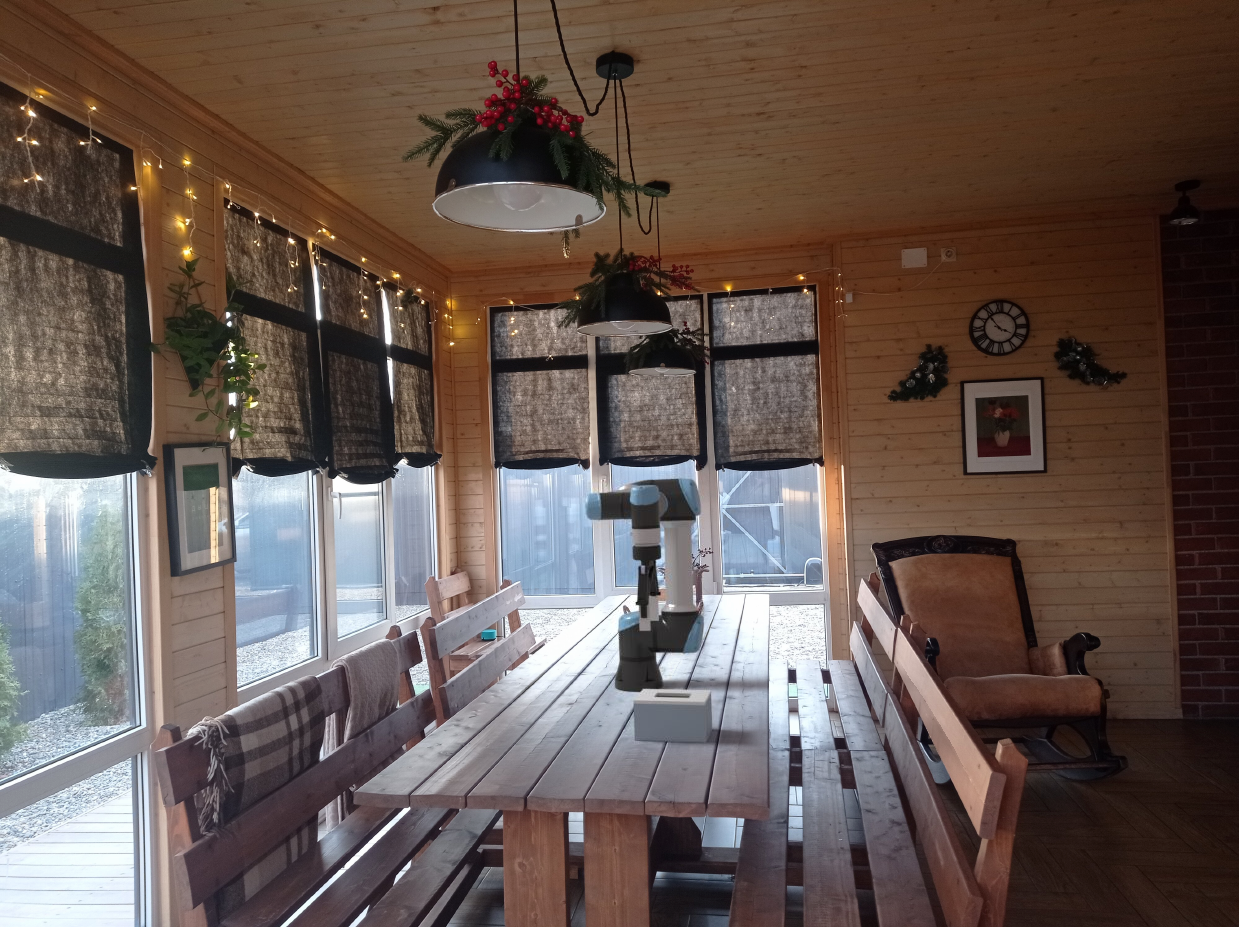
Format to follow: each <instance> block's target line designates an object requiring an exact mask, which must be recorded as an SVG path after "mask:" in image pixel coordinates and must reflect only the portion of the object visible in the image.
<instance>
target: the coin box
mask: <svg viewBox="0 0 1239 927" xmlns="http://www.w3.org/2000/svg"><path fill="white" fill-rule="evenodd" d="M632 702H633V724H634V728H633V729H634V730H633V732H634V741H646V742H648V741H649V742H673V743H674V742H675V743H676V742H677V743H678V742H679V743H700V744H701V743H704V744H707V742H708V739H709V738H710V735H711V733H712V730H713V708H712V690H709V689H708V690H706V689H704V690H703V689H698V690H697V689H670V688H669V689H668V688H666V689H662V688H657V689H643V690H642V691H639V693H638V695H636V697H635V698H634V699H633V701H632Z"/></svg>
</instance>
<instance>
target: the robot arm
mask: <svg viewBox="0 0 1239 927" xmlns="http://www.w3.org/2000/svg"><path fill="white" fill-rule="evenodd" d="M700 497H701V496H700V491H699V489H698V485H697V483H696V481H695V480H693V479H691V478H682V477H679V478H661V479H658V478H657V479H644V480H639V481H635V482H631V483H629V484H625V485H623V486H622V487H620V488H619V489H617V490H611V491H607V492H599V491H598V492H591V493H588V494H587V496H585V502H584V507H585V508H584V509H585V515H586V518H587V519H588V520H591V521H592V520H593V521H609V520H610V521H612V520H614V521H617V520H631V532H629V535H630V536H631V538H632V540H631V541H632V544H634V545H633V546H632V548H631V550H632V559H633V560H634V561H639V562H640V565H638V567H637V570H638V571H637V572H638V573H637V574H638V576H637V578H638V579H637V593H636V594H637V596H636V601H634V602H635V606H638V610H636V611H630V612H627V613H624V614H621V615H620V616H619V618H618V627H617V632H618V633H617V634H618V655H619V656H618V657H619V659H618V660H619V662H618V666H617V670H616V674H615V677H614V687H615V689H618V690H621V691H627V692H641V691H642V690H643V689H661V688H662V687H663V685H664V683H663V676H662V672H661V669H660V668H659V667H660V666H659V665H658V660H657V653H659V654H663V653H664V654H684V655H685V654H695V653H698V652H699V651H700V648H701V646H702V642H703V641H702V640H703V637H704V636H703V635H704V628H705V621H704V620H705V617H704V615H703V614H700V612H699V608H698V607H697V605H695V604H694V579H693V578H694V577H693V576H694V575H693V574H694V573H693V542H692V541H693V540H692V538H693V537H692V533H693V532H692V526H694V524H696V522H697V517H698V516H701V513H702V505H701V503H702V502H701V498H700ZM661 525H662V527H663V533H664V534H663V535H664V536H663V537H664V539H663V540H664V542H663V543H664V577H665V578H664V580H665V583H664V584H665V605H664V606H663V607H662V608H661V609H660V611H661V612H659V596H662V592H661V591H660V588H659V587H660V586H659V578H658V573H657V572H658V571H657V560H661V559H662V546H661V544H660V543H662V536H661V535H662V534H661V530H662V529H661ZM659 613H661V614H659Z"/></svg>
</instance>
